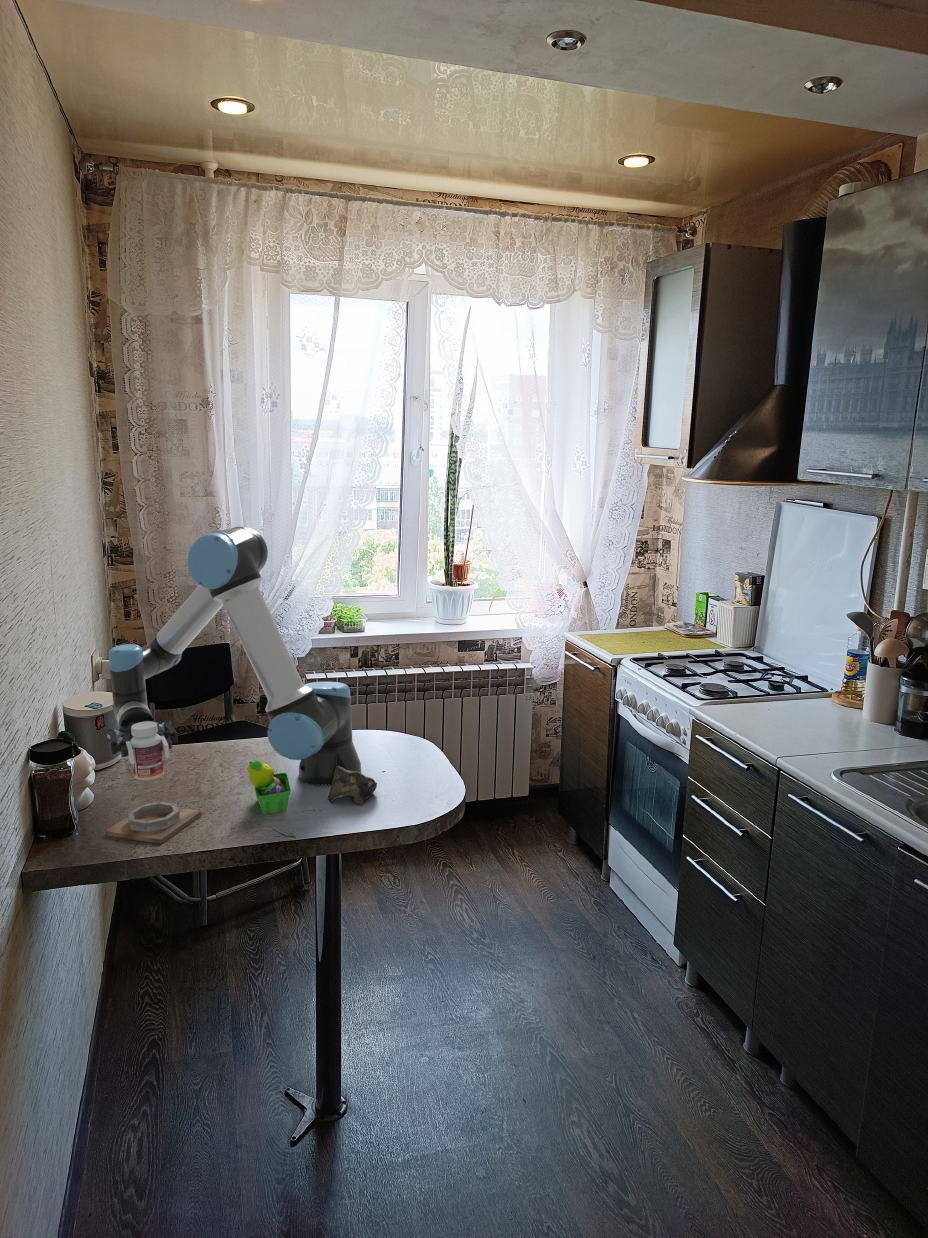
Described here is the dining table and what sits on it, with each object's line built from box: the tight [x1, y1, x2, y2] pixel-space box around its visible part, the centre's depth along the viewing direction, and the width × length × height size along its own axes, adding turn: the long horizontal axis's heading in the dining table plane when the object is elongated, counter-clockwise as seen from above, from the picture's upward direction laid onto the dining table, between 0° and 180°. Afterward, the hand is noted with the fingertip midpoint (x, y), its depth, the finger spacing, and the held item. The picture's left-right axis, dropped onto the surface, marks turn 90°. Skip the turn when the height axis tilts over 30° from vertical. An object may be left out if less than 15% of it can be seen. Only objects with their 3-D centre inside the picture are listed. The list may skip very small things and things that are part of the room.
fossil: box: [326, 766, 378, 807], centre depth 196 cm, size 11×9×10 cm
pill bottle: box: [130, 721, 165, 781], centre depth 181 cm, size 6×6×11 cm
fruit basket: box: [247, 759, 292, 815], centre depth 193 cm, size 11×9×11 cm
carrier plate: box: [104, 801, 203, 845], centre depth 185 cm, size 14×14×3 cm
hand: (149, 754), depth 177 cm, fingers closed on pill bottle, 6 cm apart
